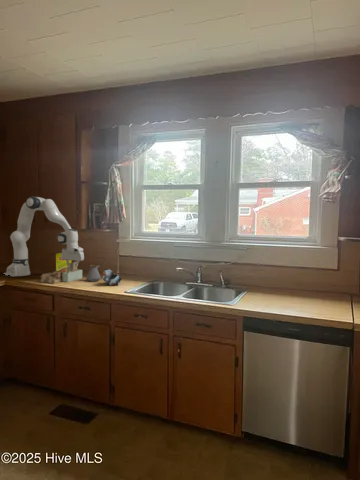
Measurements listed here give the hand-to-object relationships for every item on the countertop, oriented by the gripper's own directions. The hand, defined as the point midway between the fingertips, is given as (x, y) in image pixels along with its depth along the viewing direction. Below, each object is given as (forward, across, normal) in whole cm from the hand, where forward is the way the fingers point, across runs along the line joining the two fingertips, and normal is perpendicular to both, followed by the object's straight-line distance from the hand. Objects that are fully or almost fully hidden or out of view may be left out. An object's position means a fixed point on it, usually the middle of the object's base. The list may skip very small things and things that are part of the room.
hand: (72, 265), depth 286 cm
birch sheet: (+12, 0, 0) cm, 12 cm away
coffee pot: (+12, +18, +9) cm, 23 cm away
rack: (+12, -10, -9) cm, 18 cm away
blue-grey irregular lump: (+12, +38, -1) cm, 40 cm away
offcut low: (+12, -8, -9) cm, 17 cm away
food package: (+12, -18, +11) cm, 24 cm away
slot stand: (+12, 0, 0) cm, 12 cm away
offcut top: (+8, -8, -9) cm, 15 cm away
